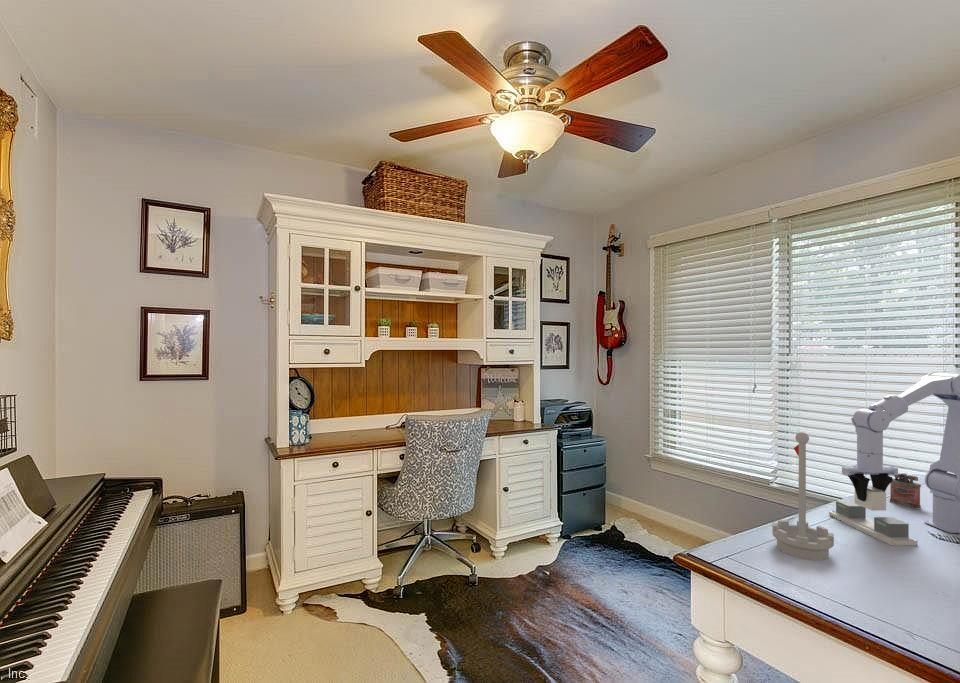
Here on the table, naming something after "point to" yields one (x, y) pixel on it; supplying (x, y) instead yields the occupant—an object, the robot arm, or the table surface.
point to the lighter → (905, 491)
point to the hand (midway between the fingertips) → (869, 500)
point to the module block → (873, 499)
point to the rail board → (873, 524)
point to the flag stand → (802, 521)
